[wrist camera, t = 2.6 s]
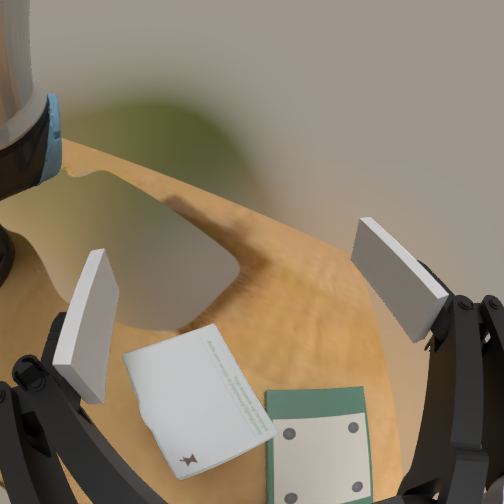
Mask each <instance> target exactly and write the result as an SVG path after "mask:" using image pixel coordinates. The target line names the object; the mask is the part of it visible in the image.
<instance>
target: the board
mask: <svg viewBox="0 0 504 504" xmlns="http://www.w3.org/2000/svg"><path fill="white" fill-rule="evenodd" d="M265 411H266V413H267V414H268V416H269V418H270V419H271V421H272V423H273V424H274V426H275V427H276V429H277V430H278V432H279V434H277V435H276V436H274V437H273V438H271V439H270V440H268V441H266V442H265V449H266V504H371V503H373V482H372V464H371V451H370V440H369V430H368V420H367V412H366V404H365V397H364V389H363V386H360V387H348V388H334V389H312V390H266V391H265Z"/></svg>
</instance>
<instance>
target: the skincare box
mask: <svg viewBox="0 0 504 504" xmlns="http://www.w3.org/2000/svg"><path fill="white" fill-rule="evenodd" d="M122 358H123V360H124V363H125V366H126V369H127V372H128V375H129V378H130V381H131V384H132V387H133V389H134V392H135V395H136V397H137V400H138V403H139V409H140V414H141V417H142V419H143V421H144V422H145V424H146V425H147V426H148V427H149V428H150V430H151V432H152V434H153V436H154V438H155V440H156V442H157V444H158V446H159V448H160V450H161V452H162V454H163V456H164V458H165V460H166V462H167V463H168V465H169V467H170V469H171V470H172V472H173V474H174V475H175V476H176V477H177V478H178V479H179V480H184V479H186V478H189V477H192V476H195V475H197V474H200V473H202V472H205V471H207V470H209V469H212V468H214V467H216V466H219V465H221V464H223V463H225V462H227V461H230V460H232V459H234V458H236V457H238V456H240V455H242V454H244V453H246V452H248V451H250V450H252V449H253V448H255V447H257V446H259V445H261V444H263V443H264V442H266V441H268V440H270V439H271V438H273V437H274V436H276V435H277V434H279V432H278V430H277V429H276V427H275V426H274V424H273V423H272V421H271V419H270V418H269V416H268V414H267V413H266V411H265V410H264V408H263V406H262V405H261V403H260V401H259V400H258V398H257V396H256V395H255V393H254V391H253V390H252V388H251V386H250V385H249V383H248V381H247V379H246V378H245V376H244V374H243V373H242V371H241V369H240V367H239V366H238V364H237V362H236V360H235V359H234V357H233V355H232V353H231V352H230V350H229V348H228V346H227V345H226V343H225V341H224V339H223V337H222V336H221V334H220V332H219V330H218V329H217V327H216V325H215V324H211V325H208V326H205V327H202V328H199V329H196V330H193V331H191V332H188V333H185V334H182V335H179V336H176V337H173V338H170V339H167V340H164V341H161V342H158V343H155V344H152V345H149V346H146V347H143V348H140V349H137V350H134V351H131V352H128V353H124V354H123V355H122Z"/></svg>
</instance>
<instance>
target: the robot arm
mask: <svg viewBox="0 0 504 504" xmlns="http://www.w3.org/2000/svg"><path fill="white" fill-rule="evenodd" d="M29 9H30V0H0V201H1V200H4V199H6V198H8V197H10V196H12V195H15V194H17V193H19V192H22V191H24V190H27V189H29V188H31V187H34V186H38V185H40V184H41V183H42V182H44V181H46V180H48V179H50V178H52V177H54V176H56V175H57V174H58V173H59V171H60V169H61V165H62V141H61V135H60V133H61V122H60V110H59V102H58V97H57V95H56V94H49V93H46V90H45V87H44V86H43V84H42V83H40V82H39V81H37V80H34V79H32V69H31V58H30V40H29ZM14 253H15V250H14V244H13V241H12V239H11V238H10V236H9V234H8V232H7V230H6V229H5V228H4V227H3V226H2V225H1V224H0V286H1V284H2V283H3V282H4V280H5V278H6V277H7V275H8V273H9V271H10V269H11V266H12V263H13V260H14ZM351 261H352V262H353V263H354V265H355V266H356V267H357V268H358V270H359V271H360V272H361V273H362V275H363V276H364V277H365V278H366V280H367V281H368V282H369V284H370V285H371V286H372V287H373V289H374V290H375V291H376V293H377V294H378V295H379V297H380V298H381V299H382V300H383V302H384V303H385V305H386V306H387V307H388V309H389V310H390V311H391V313H392V314H393V315H394V317H395V318H396V320H397V321H398V322H399V324H400V325H401V326H402V328H403V329H404V331H405V332H406V334H407V335H408V336H409V338H410V339H411V341H412V342H413V343H415V342H418V341H420V340H422V339H425V337H426V336H427V334H428V332H429V330H431V331H432V333H433V335H432V337H431V339H430V340H429V342H428V343H427V345H426V346H425V349H424V350H427V349H428V347H429V346H430V350H429V352H430V360H429V371H428V381H427V389H426V397H425V404H424V410H423V416H422V422H421V427H420V432H419V436H418V441H417V445H416V450H415V454H414V458H413V461H412V465H411V468H410V470H409V472H408V473H407V474H406V476H405V477H404V478H403V480H402V482H401V484H400V487H399V489H398V492H397V495H396V496H394V497H391V498H388V499H385V500H381V501H378V502H374V503H371V504H504V307H503V305H502V304H501V302H500V301H499V300H498V298H496V297H495V296H491V295H486V296H485V297H484V299H483V300H482V302H481V303H473V302H472V301H471V300H470V299H469V298H467V297H465V296H463V295H457V296H455V295H454V294H453V293H452V292H451V291H450V290H449V289H448V288H447V286H446V285H445V284H444V283H443V282H442V281H441V280H440V279H439V278H437V276H436V275H435V274H434V273H432V271H431V270H430V269H429V268H428V267H427V266H426V265H425V264H423V263H422V262H420V261H419V260H416V259H415V258H414V257H412V255H411V254H409V252H407V251H406V250H405V249H404V248H403V247H402V246H401V245H400V244H399V243H398V242H397V241H396V240H395V239H394V238H393V237H392V236H391V235H390V234H388V233H387V232H386V231H385V230H384V229H383V228H382V227H381V226H380V225H379V224H378V223H376V222H375V221H374V220H373V219H372V218H370V217H368V218H360V219H359V223H358V228H357V233H356V238H355V243H354V247H353V252H352V256H351ZM119 293H120V291H119V288H118V286H117V283H116V280H115V278H114V275H113V272H112V269H111V266H110V263H109V260H108V257H107V254H106V251H105V249H98V250H91V252H90V254H89V256H88V259H87V261H86V264H85V266H84V268H83V271H82V273H81V276H80V278H79V281H78V284H77V286H76V289H75V292H74V294H73V297H72V300H71V303H70V306H69V308H68V311H67V312H60V313H59V314H58V315H57V317H56V318H55V319H54V321H53V323H52V326H51V328H50V333H49V335H48V338H47V341H46V344H45V347H44V351H43V354H42V358H41V361H39V360H38V359H37V357H36V356H34V355H25V356H23V357H21V358H20V359H19V360H18V361H17V362H16V363H15V365H14V367H13V371H12V378H13V380H14V381H15V382H16V383H17V384H18V385H19V386H17V387H13V388H11V387H10V386H9V385H8V384H7V383H6V382H3V381H0V470H1V473H2V477H3V481H4V484H5V487H6V490H7V493H8V496H9V499H10V502H11V504H78V503H77V500H76V498H75V496H74V494H73V492H72V490H71V488H70V486H69V483H68V481H67V479H66V476H65V474H64V472H63V469H62V467H61V464H60V461H59V459H58V456H57V454H58V455H59V457H60V458H61V460H62V461H63V463H64V464H65V466H66V468H67V469H68V470H69V472H70V473H71V475H72V476H73V478H74V479H75V480H76V482H77V483H78V485H79V486H80V487H81V489H82V490H83V491H84V493H85V494H86V495H87V496H88V498H89V499H90V500H91V501H92V503H93V504H168V503H167V502H166V501H164V500H163V499H162V498H161V497H160V496H159V495H158V494H157V493H156V492H154V491H153V490H152V489H151V488H150V487H149V486H148V485H147V484H146V483H145V482H144V481H143V480H142V479H141V478H140V477H139V476H138V475H137V474H136V473H135V472H134V471H133V470H132V469H131V468H130V466H129V465H128V464H127V463H126V462H125V461H124V460H123V459H122V458H121V456H120V455H119V454H118V453H117V452H116V451H115V450H114V448H113V447H112V446H111V445H110V444H109V442H108V441H107V440H106V439H105V437H104V436H103V435H102V434H101V432H100V431H99V430H98V428H97V427H96V426H95V424H94V423H93V422H92V420H91V419H90V418H89V416H88V415H87V414H86V412H85V411H84V409H83V408H82V407H81V406H80V401H81V398H82V399H83V400H84V401H85V402H86V403H87V404H104V399H105V387H106V377H107V368H108V360H109V352H110V345H111V338H112V332H113V325H114V319H115V314H116V309H117V303H118V298H119ZM488 333H489V334H490V337H491V338H490V339H489V341H488V342H487V343H486V341H485V338H486V336H487V335H488ZM481 447H482V449H481ZM56 452H57V453H56ZM485 487H486V491H487V492H486V493H484V488H485ZM438 492H439V496H438V499H437V500H435V499H432V498H433V496H434V495H435V494H436V493H438ZM483 493H484V494H483Z"/></svg>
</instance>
